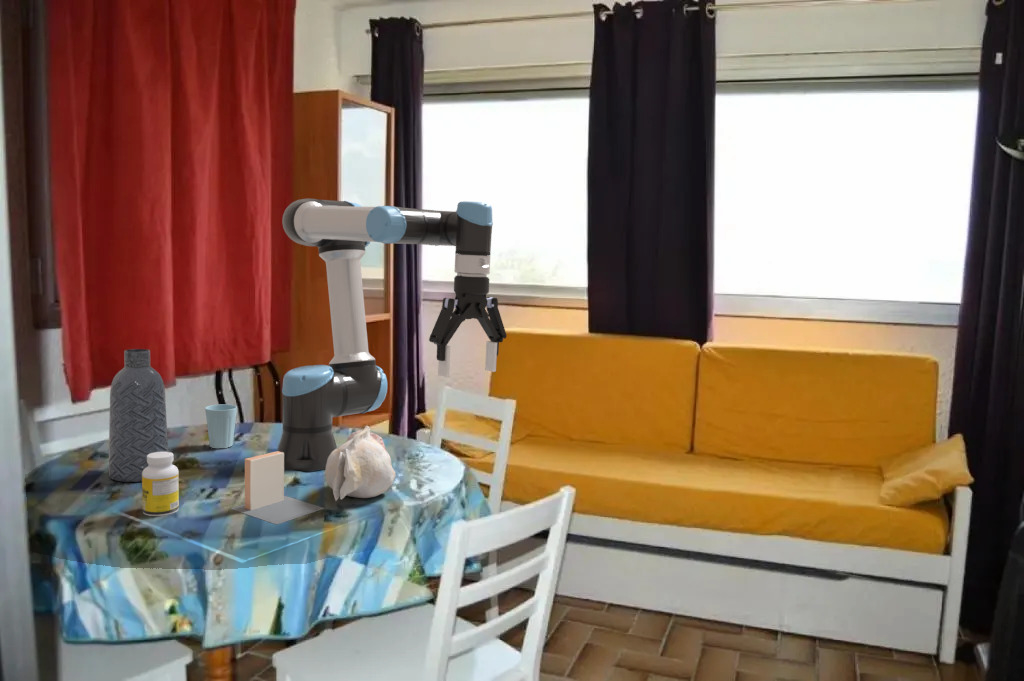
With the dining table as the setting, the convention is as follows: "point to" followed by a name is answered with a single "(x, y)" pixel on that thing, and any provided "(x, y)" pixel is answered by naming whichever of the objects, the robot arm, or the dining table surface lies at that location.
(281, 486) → the tile
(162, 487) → the pill bottle
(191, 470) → the dining table surface
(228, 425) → the cup
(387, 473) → the white garlic bulb
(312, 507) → the mat
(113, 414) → the vase
